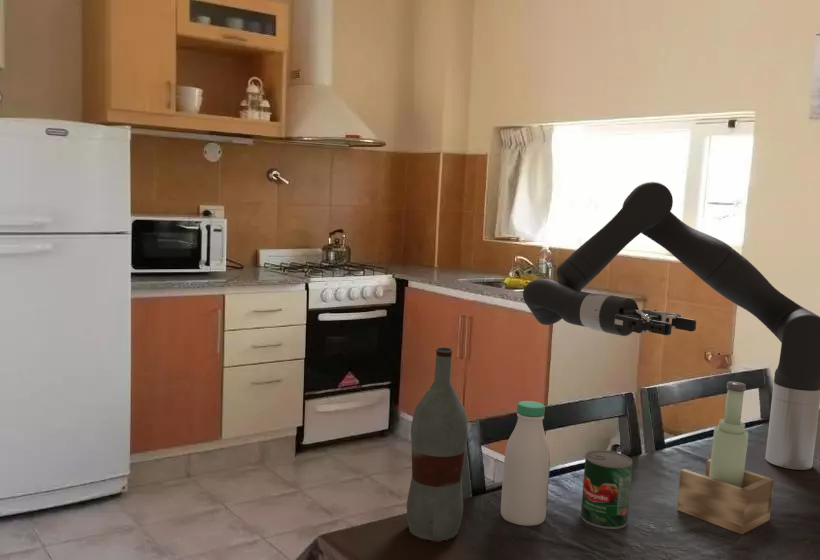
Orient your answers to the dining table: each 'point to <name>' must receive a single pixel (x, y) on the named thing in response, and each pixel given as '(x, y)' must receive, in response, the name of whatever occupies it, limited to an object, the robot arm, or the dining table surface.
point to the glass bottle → (730, 440)
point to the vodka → (437, 457)
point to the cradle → (726, 499)
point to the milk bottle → (526, 468)
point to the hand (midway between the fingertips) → (683, 327)
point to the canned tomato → (606, 489)
